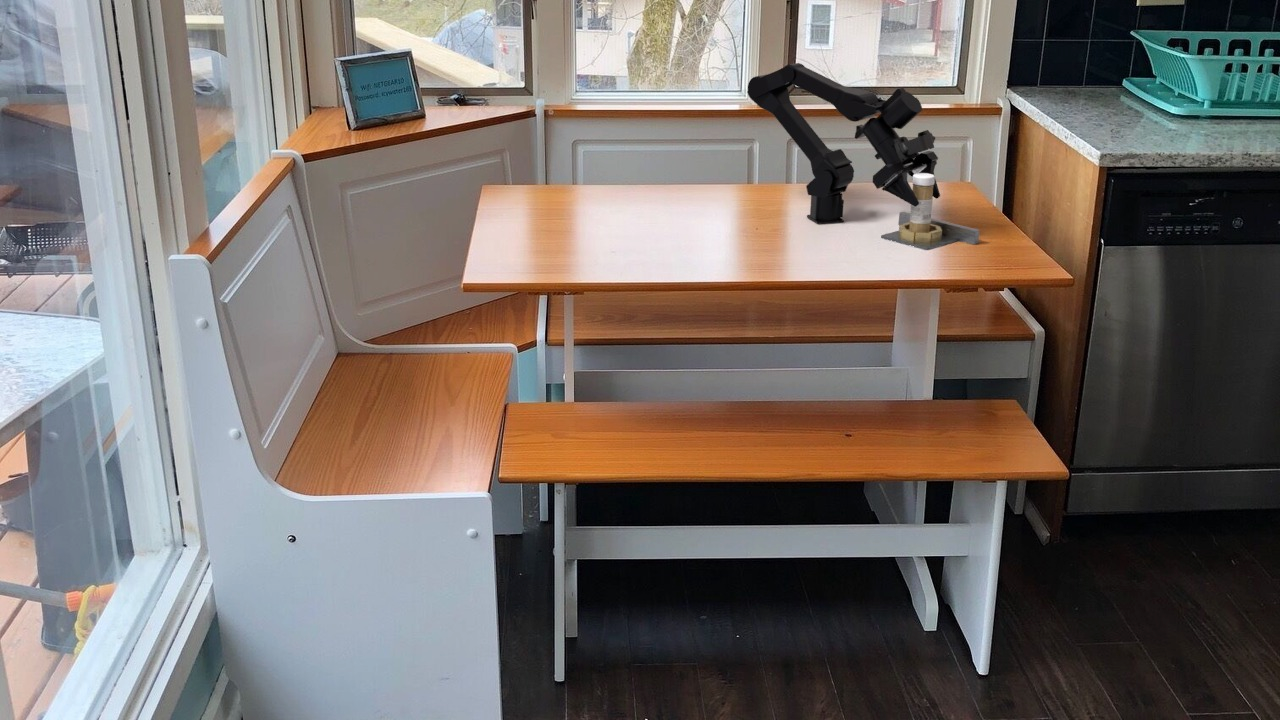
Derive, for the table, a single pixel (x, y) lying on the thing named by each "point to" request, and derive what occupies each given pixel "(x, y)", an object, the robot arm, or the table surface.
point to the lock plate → (932, 234)
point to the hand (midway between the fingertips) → (928, 201)
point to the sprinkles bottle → (922, 202)
